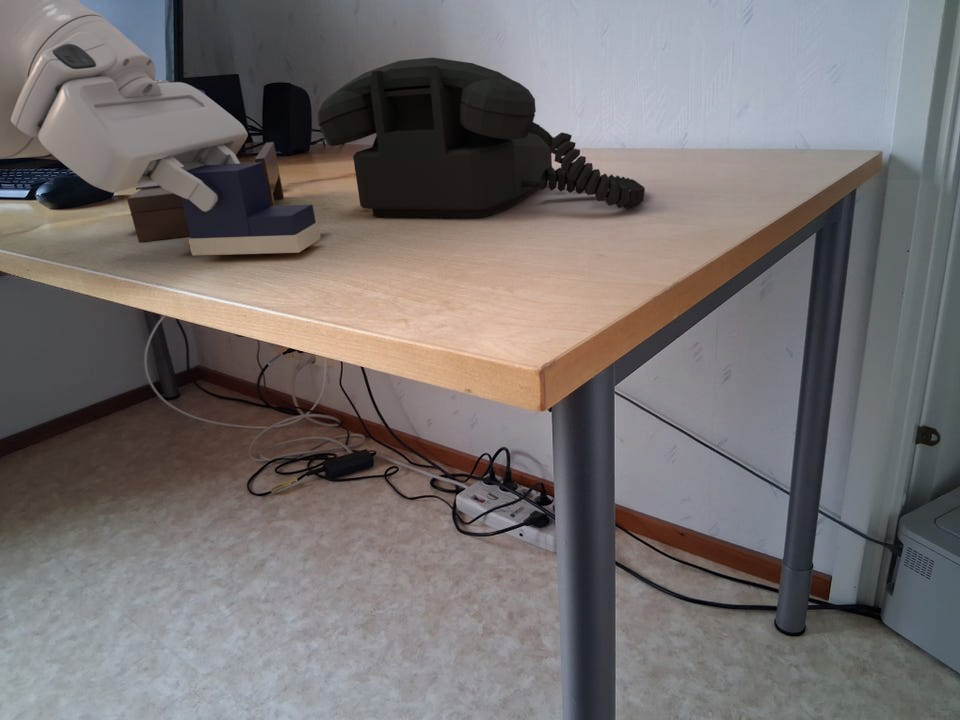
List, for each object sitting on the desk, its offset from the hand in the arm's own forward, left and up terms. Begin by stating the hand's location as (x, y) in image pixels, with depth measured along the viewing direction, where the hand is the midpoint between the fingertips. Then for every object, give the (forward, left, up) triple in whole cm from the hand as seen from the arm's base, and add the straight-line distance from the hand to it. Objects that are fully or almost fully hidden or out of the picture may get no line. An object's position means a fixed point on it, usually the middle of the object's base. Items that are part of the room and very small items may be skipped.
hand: (233, 197), depth 60 cm
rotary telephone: (+29, -1, -5) cm, 29 cm away
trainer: (+1, -1, -4) cm, 5 cm away
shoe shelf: (+5, +22, -5) cm, 23 cm away
